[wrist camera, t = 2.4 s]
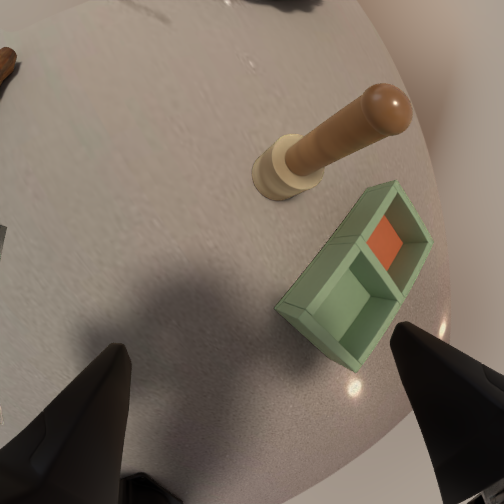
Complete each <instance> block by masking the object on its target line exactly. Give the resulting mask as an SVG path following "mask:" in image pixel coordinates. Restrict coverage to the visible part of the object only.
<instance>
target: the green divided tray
mask: <svg viewBox="0 0 504 504" xmlns="http://www.w3.org/2000/svg"><path fill="white" fill-rule="evenodd" d="M433 243H434V241H433V239H432V238H431V236H430V234H429V232H428V230H427V228H426V227H425V225H424V223H423V221H422V220H421V218H420V216H419V214H418V213H417V211H416V209H415V208H414V206H413V204H412V203H411V201H410V200H409V198H408V196H407V195H406V193H405V192H404V190H403V189H402V187H401V186H400V184H399V183H398V181H397V180H393V181H390V182H386V183H383V184H379V185H376V186H373V187H369V188H367V189H366V190H365V192H364V193H363V195H362V196H361V197H360V199H359V200H358V202H357V203H356V204H355V206H354V207H353V208H352V210H351V211H350V212H349V214H348V215H347V217H346V218H345V219H344V221H343V222H342V223H341V225H340V226H339V227H338V229H337V230H336V231H335V233H334V234H333V235H332V236H331V238H330V239H329V240H328V242H327V243H326V244H325V246H324V247H323V248H322V249H321V251H320V252H319V253H318V255H317V256H316V257H315V258H314V260H313V261H312V262H311V263H310V265H309V266H308V267H307V268H306V270H305V271H304V272H303V273H302V275H301V276H300V277H299V278H298V280H297V281H296V282H295V283H294V285H293V286H292V287H291V288H290V290H289V291H288V292H287V293H286V294H285V296H284V297H283V298H282V299H281V300H280V302H279V303H278V304H277V305H276V306H275V308H274V309H275V310H276V311H277V312H278V313H279V314H280V315H281V316H283V317H284V318H285V319H286V320H287V321H288V322H289V323H290V324H291V325H292V326H294V327H295V328H296V329H297V330H298V331H299V332H300V333H301V334H302V335H303V336H305V337H306V338H307V339H308V340H309V341H310V342H311V343H312V344H313V345H315V346H316V347H317V348H318V349H319V350H320V351H321V352H322V353H323V354H325V355H326V356H327V357H328V358H329V359H331V360H333V361H335V362H336V363H338V364H340V365H342V366H344V367H346V368H347V369H349V370H351V371H353V372H355V373H357V372H358V370H359V369H360V368H361V366H362V365H363V364H364V362H365V361H366V359H367V358H368V357H369V355H370V354H371V352H372V351H373V349H374V348H375V346H376V345H377V343H378V342H379V340H380V339H381V337H382V336H383V334H384V333H385V331H386V330H387V328H388V327H389V325H390V323H391V322H392V320H393V319H394V317H395V315H396V314H397V312H398V310H399V309H400V307H401V305H402V303H403V302H404V300H405V298H406V297H407V295H408V293H409V291H410V289H411V288H412V286H413V284H414V282H415V280H416V278H417V276H418V274H419V272H420V270H421V268H422V266H423V264H424V262H425V260H426V258H427V256H428V254H429V252H430V250H431V247H432V245H433Z"/></svg>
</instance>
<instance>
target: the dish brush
mask: <svg viewBox="0 0 504 504" xmlns="http://www.w3.org/2000/svg"><path fill="white" fill-rule="evenodd" d="M412 115H413V112H412V106H411V103H410V101H409V99H408V97H407V96H406V94H405V93H404V92H403V91H401V90H400V89H399V88H397V87H395V86H393V85H390V84H385V83H380V84H375V85H373V86H371V87H369V88H368V89H367V90H366V91H365V92H364V93H363V95H361V96H360V97H358V98H357V99H355V100H354V101H353V102H351V103H350V104H348V105H347V106H345V107H344V108H343V109H341V110H340V111H338V112H337V113H335V114H334V115H333V116H331V117H330V118H329V119H327V120H326V121H324V122H323V123H322V124H320V125H319V126H318V127H316V128H315V129H314V130H312V131H311V132H309V133H308V134H307V135H305V136H302V135H298V134H288V135H285V136H282V137H281V138H279V139H278V140H277V141H276V142H275V143H274V144H273V145H272V146H271V147H269V148H268V149H267V150H266V151H265V152H264V153H263V154H262V155H261V156H260V157H259V158H258V159H257V160H256V161H255V163H254V165H253V169H252V178H253V182H254V184H255V186H256V188H257V189H258V191H259V192H260V193H261V194H262V195H264V196H265V197H267V198H269V199H272V200H285V199H287V198H290V197H292V196H294V195H297V194H299V193H302V192H304V191H306V190H309V189H311V188H313V187H315V186H316V185H318V184H319V182H320V181H321V179H322V177H323V175H324V169H325V166H327V165H329V164H331V163H333V162H335V161H337V160H339V159H341V158H343V157H345V156H348V155H350V154H352V153H354V152H356V151H358V150H360V149H362V148H364V147H366V146H369V145H371V144H373V143H375V142H377V141H379V140H381V139H384V138H386V137H388V136H394V135H398V134H400V133H402V132H404V131H405V130H406V129H407V128H408V126H409V125H410V123H411V120H412Z"/></svg>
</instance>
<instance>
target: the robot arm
mask: <svg viewBox="0 0 504 504" xmlns="http://www.w3.org/2000/svg"><path fill="white" fill-rule="evenodd" d="M390 347H391V350H392V353H393V356H394V359H395V363H396V366H397V369H398V372H399V375H400V378H401V381H402V384H403V386H404V389H405V391H406V393H407V396H408V398H409V401H410V403H411V406H412V408H413V411H414V413H415V416H416V419H417V421H418V424H419V427H420V429H421V432H422V435H423V438H424V441H425V443H426V446H427V449H428V452H429V455H430V458H431V462H432V464H433V468H434V472H435V475H436V479H437V482H438V485H439V489H440V493H441V497H442V501H443V504H458V503H460V502H463V501H464V500H466V499H468V498H470V497H472V496H474V495H476V494H478V493H479V494H478V495H477V496H476V497H475V498H473V499H472V500H471V501H469V502H468V503H467V504H504V375H502V374H499V373H498V372H496V371H494V370H493V369H491V368H489V367H487V366H485V365H484V364H481V363H480V362H479V361H477V360H475V359H473V358H472V357H470V356H468V355H466V354H465V353H463V352H461V351H459V350H458V349H456V348H454V347H452V346H451V345H449V344H447V343H445V342H444V341H442V340H440V339H438V338H437V337H435V336H433V335H431V334H430V333H428V332H426V331H424V330H422V329H421V328H419V327H417V326H415V325H414V324H412V323H410V322H408V321H405V322H400V323H398V324H397V325H396V327H395V329H394V331H393V334H392V336H391V339H390ZM131 371H132V363H131V360H130V357H129V355H128V352H127V350H126V347H125V345H124V344H122V343H111V344H110V345H109V346H108V347H107V348H106V349H104V350H103V351H102V352H101V353H100V354H99V355H98V356H97V357H96V358H95V359H94V360H93V361H92V362H91V363H90V364H89V365H88V366H87V367H86V368H85V369H84V370H83V371H82V372H81V373H80V374H79V375H78V376H77V377H76V378H75V379H74V380H73V381H72V382H71V383H70V384H69V385H68V386H67V387H66V388H65V389H64V390H63V391H62V392H61V393H60V394H59V395H58V396H57V397H56V398H55V399H54V400H53V401H52V402H51V403H50V404H49V405H48V406H47V407H46V408H45V409H44V410H43V411H44V412H43V411H42V412H41V413H40V414H39V415H38V416H37V417H36V418H35V419H34V420H33V421H32V422H31V423H30V424H29V425H28V426H27V427H26V428H25V429H24V430H22V431H21V432H20V433H19V434H18V435H17V436H16V437H14V438H13V439H12V440H11V441H10V442H9V443H7V444H6V445H5V446H4V447H3V448H1V449H0V504H183V501H181V500H180V499H178V498H177V497H175V496H174V495H173V494H171V493H170V492H168V491H167V490H166V489H164V488H163V487H162V486H160V485H159V484H158V483H156V482H155V481H154V480H153V479H151V478H150V477H149V476H148V475H146V474H144V473H138V474H136V475H133V476H130V477H127V478H124V479H121V480H120V471H121V461H122V453H123V445H124V437H125V431H126V424H127V418H128V411H129V400H130V384H131ZM142 477H144V478H142ZM480 492H481V493H480Z"/></svg>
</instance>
